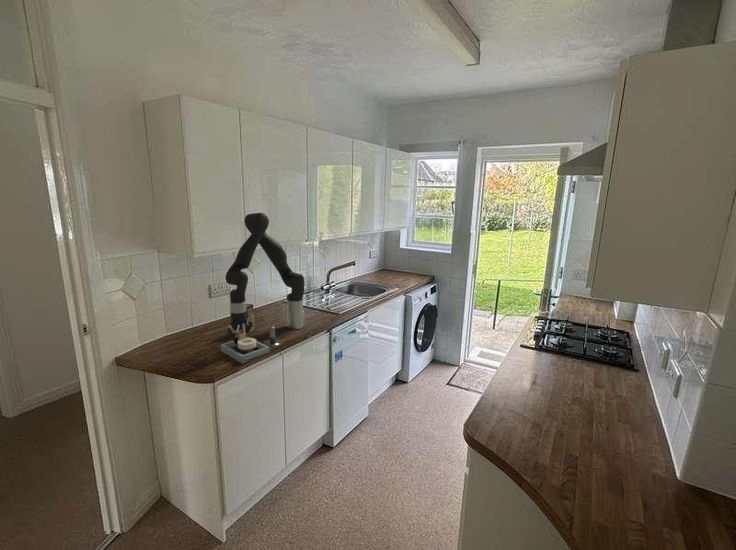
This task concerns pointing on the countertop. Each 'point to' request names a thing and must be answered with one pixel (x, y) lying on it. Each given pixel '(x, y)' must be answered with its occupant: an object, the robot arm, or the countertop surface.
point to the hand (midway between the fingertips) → (239, 342)
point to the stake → (272, 338)
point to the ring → (245, 341)
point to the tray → (244, 358)
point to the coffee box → (250, 316)
